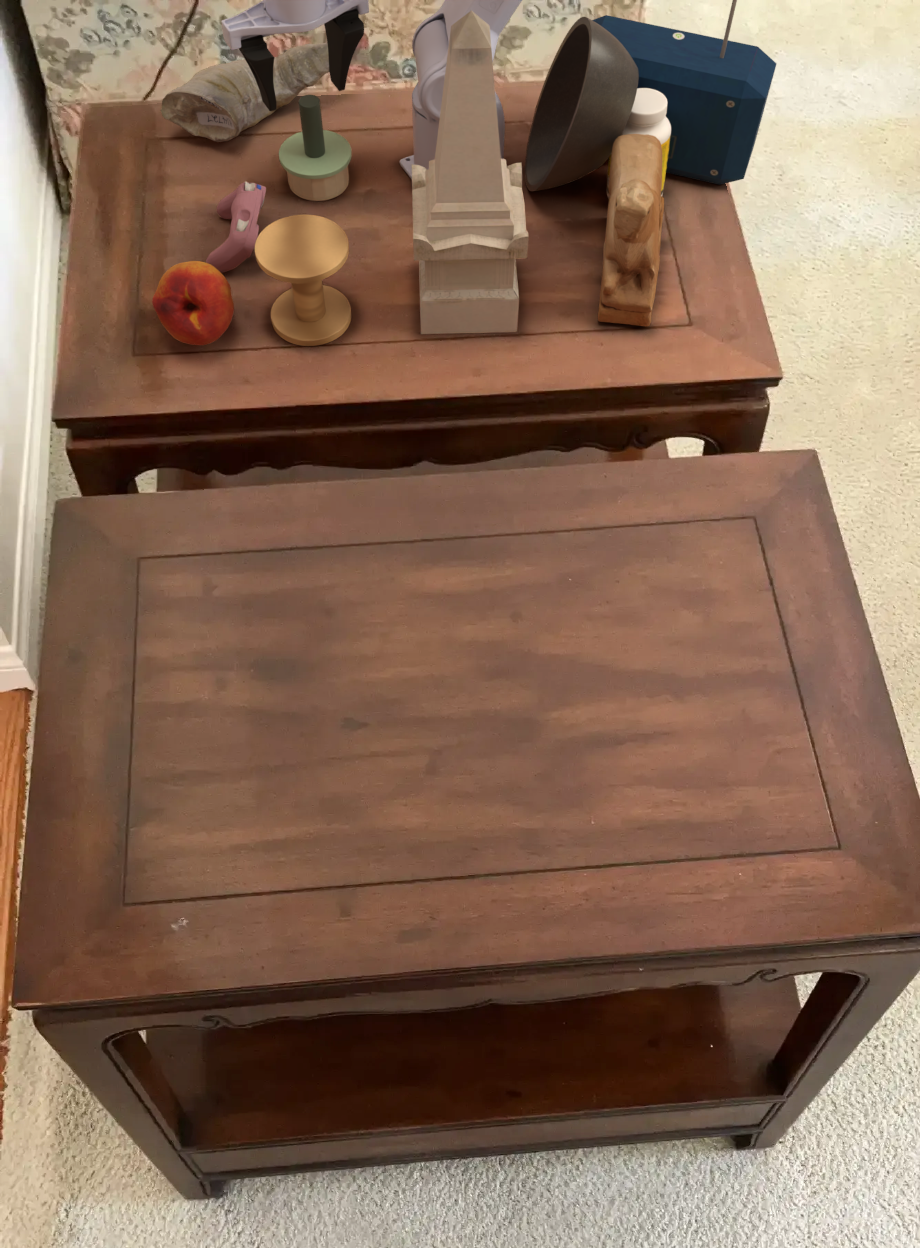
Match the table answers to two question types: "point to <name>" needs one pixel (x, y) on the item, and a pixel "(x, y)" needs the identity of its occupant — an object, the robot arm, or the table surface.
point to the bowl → (580, 107)
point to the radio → (701, 94)
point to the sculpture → (632, 231)
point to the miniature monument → (468, 201)
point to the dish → (319, 186)
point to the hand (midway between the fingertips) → (304, 94)
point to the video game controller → (238, 225)
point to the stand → (305, 277)
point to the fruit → (194, 302)
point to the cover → (314, 146)
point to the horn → (241, 93)
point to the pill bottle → (649, 123)
